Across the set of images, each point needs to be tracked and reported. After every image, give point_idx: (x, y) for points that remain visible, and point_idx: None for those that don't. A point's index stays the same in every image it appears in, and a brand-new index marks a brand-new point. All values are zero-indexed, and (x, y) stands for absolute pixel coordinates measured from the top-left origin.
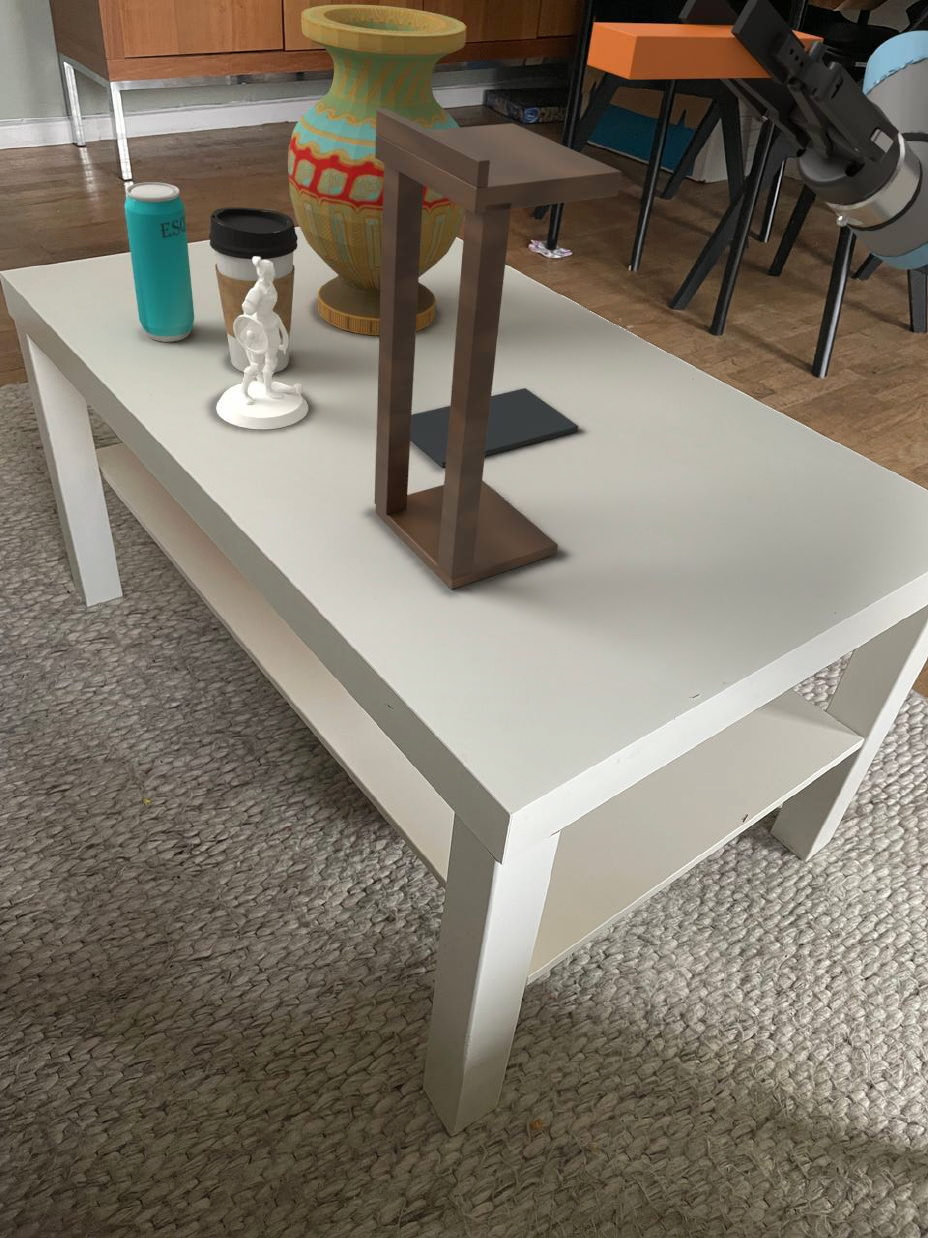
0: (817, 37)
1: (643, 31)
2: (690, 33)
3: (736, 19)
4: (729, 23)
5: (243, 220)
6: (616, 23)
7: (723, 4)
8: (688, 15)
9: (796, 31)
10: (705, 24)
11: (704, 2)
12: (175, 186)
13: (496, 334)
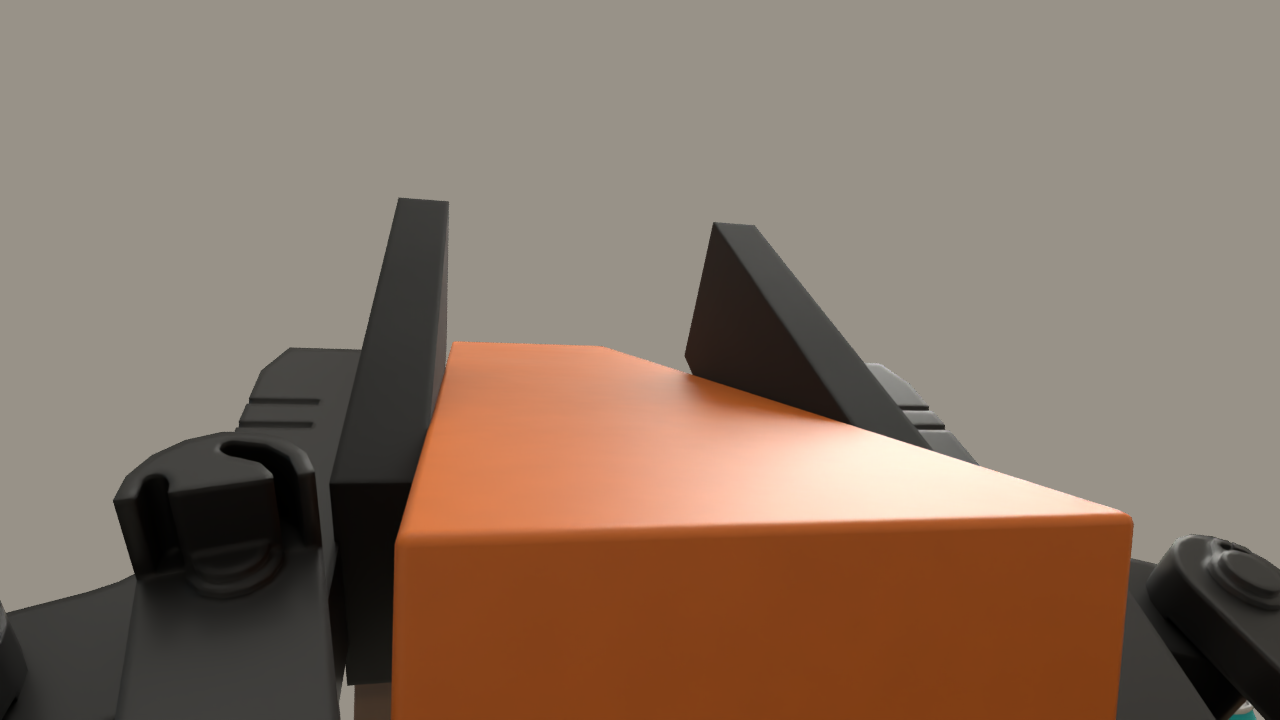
0: (456, 513)
1: (506, 346)
2: (496, 356)
3: (801, 379)
4: (782, 395)
5: None
6: (603, 349)
7: (758, 306)
8: (689, 345)
9: (832, 512)
10: (720, 383)
11: (713, 301)
12: (1247, 707)
13: (354, 707)
